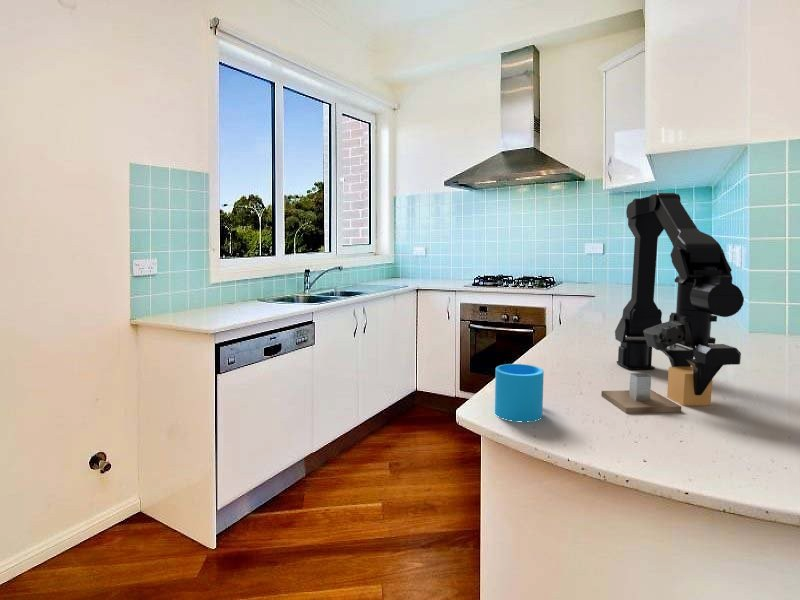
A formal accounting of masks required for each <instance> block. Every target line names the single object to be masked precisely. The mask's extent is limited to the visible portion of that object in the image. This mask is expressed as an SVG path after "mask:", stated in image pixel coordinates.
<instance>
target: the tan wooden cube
mask: <svg viewBox="0 0 800 600" xmlns="http://www.w3.org/2000/svg"><path fill="white" fill-rule="evenodd" d="M667 374H668V376H667V377H668V378H667V393H666V398H667V399H669V400H671V401H673V402H674V403H676V404H677V403H678V405H680V406H685V407H686V406H711V401H712V386H713V379H712V380H711V382H710V383H709V385H708V386H707V387H706V389H705V390H704V392H703V393H702V395H695V393H694V381H693V367H692V366H691V367H672V366H668V373H667Z"/></svg>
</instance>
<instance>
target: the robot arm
mask: <svg viewBox="0 0 800 600" xmlns="http://www.w3.org/2000/svg"><path fill="white" fill-rule="evenodd" d="M625 210H626V213H625V214H626V218H627V226H628V228H629V230H630V231H631V234H632V235H633V237H634V246H633V262H632V263H633V264H632V279H631V280H632V281H631V282H632V283H631V298H630V300H629V301H628V302H627V304H626V305H625V307H624V308H623V310H622V316H621V318H620V320H619V322H618V324H617V326H616V328H615V330H614V336H615V337H614V338H615V339H614V340H616V341H618V342H620V346H618V350H617V351H618V353H617V356H618V357H617V361H616V364H618V365H619V366H621V367H623V368H624V369H627V370H656V366H654V365H652V358H653V357H652V356H653V349H654V350H656V351H660V352H662V354H664V355H665V356H666V357H667V358H668V360H669V362H670V367H693V381H694V393H695V395H702V393H703V392H704V390H705V389H706V387H707V386H708V385H709V383H710V382H711V380H712V381H713V378H715V376H716V375H717V374H718V373H719V371H720V370H721V369H722V367H724V366H727V365H729V366H730V365H732V366H733V365H736V366H737V365H740V364H741V359H742V353H741V351H740V350H739V349H738V347H734V346H731V345H728V344H724V343H716V341H717V340H716V338H715V337H712V336H711V332H712V331H711V329H712V322H715V323H716V322H717V321H718V317H722V318H728V317H732V316H734V315H736V314H737V313H738V312H740V310H741V309H742V307H743V305H744V300H745V297H744V295H743V291H741V289H740V288H739V287H738V286H737V285H736V284H734V283H733V275H732V272H733V271H732V270H733V269H732V268H731V265H730V264H729V262H728V261H727V257H726V256H725V251H724V250H723V248H722V246H721V245H720V243H719V242H718V241H717V240H716V239H715V238H714V237H713V236H712V235H709V234H708V233H705V232H702V231H701V230H700V229H699V228H698V227H697V225H696V224H695V223H694V221H693V219H692V217H691V216H690V214H689V213H688V211H687V210H686V208H685V207H684V205H683V204H682V203H681V195H680V194H679V193H676V192H655V193H654V194H653V193H652V194H650V195H649V196H644V197H642V198H639V197H638V198H637V197H636V198H633V200H632V201H631V202H629V203H628V204H627V206H626V209H625ZM663 231H664V232H665V233H666V235H667V237H668V238H669V241H670V242H671V245H672V246H673V247H672V250H671V253H670V258H671V263H672V265H673V267H674V269H675V271H676V273H677V276H676V277H675V278H674V283H675V284H676V283H677V293H676V308H675V309H676V311H675V312H671V314H670V315H669V320H668V321H666V322H662V316H663V312H662V310H661V309H660V308H658V306H657V304H656V303H655V285H656V273H657V271H656V270H657V256H658V242H659V241H658V240H659V237H660V236H661V234H662V233H663Z"/></svg>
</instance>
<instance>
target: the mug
mask: <svg viewBox="0 0 800 600" xmlns="http://www.w3.org/2000/svg"><path fill="white" fill-rule="evenodd" d="M544 372H545V371H544V370H543V368H541V367H539V366H535V365H531V364H524V363H507V364H500V365H498V366H496V367H495V377H494V378H495V385H494V390H495V391H494V415H495V414H496V415H497V416H499V417H501V418H504V419H507V420H512V421H522V422H527V421H535V420H538V419H540V418H541V419H542V418H543V404H544V402H543V400H544ZM496 415H495V416H496ZM497 416H496V417H497ZM541 419H540V420H541ZM538 421H539V420H538ZM535 422H536V421H535Z"/></svg>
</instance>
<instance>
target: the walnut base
mask: <svg viewBox="0 0 800 600" xmlns="http://www.w3.org/2000/svg"><path fill="white" fill-rule="evenodd" d="M629 392H630V389H629V390H628V389H627V390H601V392H600V393H601V397H602V398H604V399H605V400H606V401H608V402H609V403H611V404H612V405H613V406H614V407H617V408H618V409H619V410H620V411H622V412H624V413H625V414H641V413H642V414H643V413H647V414H648V413H649V414H651V413H657V414H658V413H682V405H680V404H679V403H678V404H677V402H675V401H673V400H671V399H670V398H668V397H665V396H663V395H662V394H660V393H658V392H656V391H654V390H652V389H651V391H650V400H644V401H636V400H634V399H633V398H631V397H630V396H629Z"/></svg>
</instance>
